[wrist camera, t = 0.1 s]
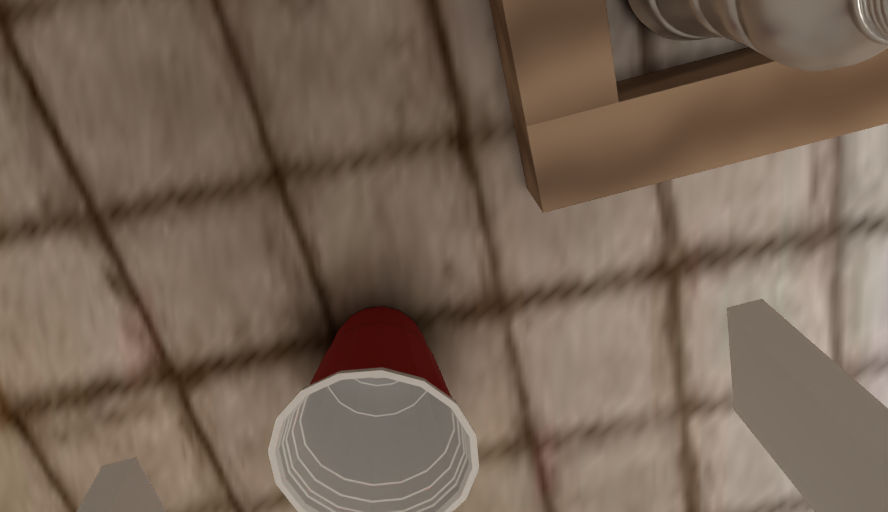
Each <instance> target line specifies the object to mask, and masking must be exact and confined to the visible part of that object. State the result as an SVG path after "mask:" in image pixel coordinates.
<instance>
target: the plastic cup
mask: <svg viewBox="0 0 888 512" xmlns="http://www.w3.org/2000/svg"><path fill="white" fill-rule="evenodd" d="M268 454H269V458H270V462H271V466H272V471H273V475H274V479H275V483H276V485H277V486H278V487H279V488H280V490H281V491H282V492H283V494H284V495H285V496H286V497H287V499H288V500H289V501H290V502H291V504H292V505H293V506H294V507H295V509H296V510H297V511H298V512H452V511H454V510H455V509H456V508H457V507H458V506H459V505H460V504H461V503H462V502H463V501H464V500H466V498H467V496H468V494H469V491H470V489H471V486H472V484H473V482H474V479H475V477H476V475H477V472H478V470H479V461H478V450H477V438H476V434H475V432H474V430H473V428H472V427H471V425H470V424H469V422H468V420H467V419H466V417H465V415H464V414H463V412H462V411H461V409H460V407H459V406H458V404H457V403H456V401H455V400H454V399H453V398H452V397H451V395H450V393H449V391H448V388H447V386H446V384H445V381H444V379H443V377H442V374H441V372H440V370H439V367H438V365H437V363H436V360H435V358H434V356H433V354H432V352H431V351H430V349H429V348H428V346H427V343H426V341H425V339H424V336H423V335H422V333H421V331H420V330H419V328H418V327H417V325H416V323H415V322H414V321H413V320H412V319H411V318H409V317H408V316H407V315H405V314H404V313H402V312H401V311H399V310H396V309H392V308H387V307H383V306H381V307H373V308H365V309H364V310H362V311H360V312H358V313H356V314H354V315H352V316H351V317H350V318H349V319H348V320H347V321H346V322H345V323H344V324H343V326H342V327H341V328H340V329H339V330H338V332H337V334H336V336H335V338H334V340H333V343H332V345H331V347H330V348H329V349H328V350H327V352H326V354H325V356H324V358H323V360H322V362H321V364H320V366H319V368H318V370H317V372H316V373H315V375H314V377H313V379H312V381H311V383H310V385H309V386H307V387H304V388H303V389H302V390H301V391H300V392H299V394H298V395H297V396H296V397H295V398H294V399H293V400H292V401H291V403H290V404H289V405H288V406H287V407H286V408H285V409H284V410H283V412H282V413H281V414H280V415H279V416H278V417H277V418H276V422H275V425H274V429H273V433H272V437H271V441H270V445H269V449H268Z"/></svg>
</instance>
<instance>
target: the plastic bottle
mask: <svg viewBox="0 0 888 512" xmlns="http://www.w3.org/2000/svg"><path fill="white" fill-rule="evenodd" d="M628 2H629V4H630V6H631V8H632V10H633V12H634V14H635V15H636V16H637V17H638V19H639V20H640V21H641V22H642V23H643V24H644V25H645V26H647V27H648V28H649V29H650V30H652V31H653V32H654V33H656V34H658V35H660V36H662V37H665V38H668V39H673V40H700V39H705V38H711V37H724V38H727V39H731V40H733V41H736V42H740V43H743V44H745V45H747V46H748V47H750V48H752V49H754V50H755V51H757V52H759V53H761V54H762V55H764V56H766V57H767V58H770V59H772V60H774V61H776V62H778V63H780V64H783V65H786V66H788V67H791V68H795V69H800V70H804V71H826V70H831V69H836V68H841V67H846V66H850V65H855V64H858V63H860V62H863V61H865V60H868V59H870V58H872V57H874V56H876V55H877V54H879V53H881V52H882V51H884V50H886V49H887V48H888V0H628Z"/></svg>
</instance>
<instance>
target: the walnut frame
mask: <svg viewBox="0 0 888 512" xmlns="http://www.w3.org/2000/svg"><path fill="white" fill-rule="evenodd" d="M489 1H490V6H491V11H492V16H493V21H494V26H495V31H496V36H497V41H498V46H499V51H500V56H501V61H502V66H503V71H504V76H505V81H506V86H507V91H508V96H509V101H510V106H511V111H512V116H513V121H514V126H515V131H516V136H517V141H518V146H519V151H520V156H521V161H522V166H523V171H524V176H525V180H526V185H527V189H528V190H529V192H530V193H531V195H532V196H533V198H534V200H535V201H536V203H537V204H538V206H539V207H540V209H541V210H542V212H543V213H544V212H548V211H552V210H556V209H560V208H563V207H567V206H571V205H575V204H579V203H583V202H586V201H590V200H594V199H598V198H602V197H606V196H610V195H613V194H617V193H621V192H625V191H629V190H633V189H637V188H640V187H644V186H648V185H652V184H656V183H660V182H663V181H667V180H671V179H675V178H679V177H683V176H687V175H690V174H694V173H698V172H702V171H706V170H710V169H713V168H717V167H721V166H725V165H729V164H733V163H737V162H740V161H744V160H748V159H752V158H756V157H760V156H763V155H767V154H771V153H775V152H779V151H783V150H787V149H790V148H794V147H798V146H802V145H806V144H810V143H814V142H817V141H821V140H825V139H829V138H833V137H837V136H840V135H844V134H848V133H852V132H856V131H860V130H864V129H867V128H871V127H875V126H879V125H883V124H887V123H888V48H887V49H886V50H884V51H882V52H881V53H879V54H877V55H876V56H874V57H872V58H870V59H868V60H865V61H863V62H860V63H858V64H855V65H850V66H846V67H841V68H836V69H831V70H826V71H804V70H800V69H795V68H791V67H788V66H786V65H783V64H780V63H778V62H776V61H774V60H772V59H770V58H767V57H766V56H764V55H762V54H761V53H759V52H757V51H755V50H754V49H752V48H750V47H748V48H744V49H741V50H737V51H733V52H729V53H725V54H722V55H718V56H714V57H710V58H706V59H703V60H699V61H695V62H691V63H687V64H684V65H680V66H676V67H672V68H668V69H665V70H661V71H657V72H653V73H649V74H646V75H642V76H638V77H634V78H630V79H627V80H623V81H619V82H616V78H615V70H614V63H613V55H612V47H611V40H610V32H609V25H608V17H607V10H606V2H605V0H489Z"/></svg>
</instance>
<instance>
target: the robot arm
mask: <svg viewBox="0 0 888 512" xmlns="http://www.w3.org/2000/svg"><path fill="white" fill-rule="evenodd" d="M727 317H728V331H729V345H730V359H731V374H732V388H733V402H734V410H735V412H736V413H737V414H738V415H739V417H740V418H741V419H742V420H743V422H744V423H745V424H746V425H747V427H748V428H749V429H750V430H751V432H752V433H753V434H754V435H755V437H756V438H757V439H758V440H759V442H760V443H761V444H762V445H763V447H764V448H765V449H766V450H767V452H768V453H769V454H770V455H771V457H772V458H773V459H774V460H775V462H776V463H777V464H778V465H779V467H780V468H781V469H782V470H783V472H784V473H785V474H786V476H787V477H788V478H789V479H790V481H791V482H792V483H793V484H794V486H795V487H796V488H797V489H798V491H799V492H800V493H801V494H802V496H803V497H804V498H805V499H806V501H807V502H808V503H809V504H810V506H811V507H812V508H813V509H814V511H815V512H888V408H887V407H885V406H884V405H883V404H882V403H881V402H880V401H878V400H877V399H876V398H875V397H874V396H873V395H872V394H870V393H869V392H868V391H867V390H866V389H865V388H864V387H862V386H861V385H860V384H859V383H858V382H857V381H856V380H854V379H853V378H852V377H851V376H850V375H849V374H847V373H846V372H845V371H844V370H843V369H842V368H841V367H839V366H838V365H837V364H836V363H835V362H834V361H833V360H831V359H830V358H829V357H828V356H827V355H826V354H825V353H823V352H822V351H821V350H820V349H819V348H818V347H816V346H815V345H814V344H813V343H812V342H811V341H810V340H808V339H807V338H806V337H805V336H804V335H803V334H802V333H800V332H799V331H798V330H797V329H796V328H795V327H794V326H792V325H791V324H790V323H789V322H788V321H787V320H786V319H784V318H783V317H782V316H781V315H780V314H779V313H777V312H776V311H775V310H774V309H773V308H772V307H771V306H769V305H768V304H767V303H766V302H765V301H764V300H763V299H760V300H756V301H752V302H748V303H744V304H740V305H736V306H732V307H728V308H727ZM77 512H167V511H166V510H165V508H164V506H163V504H162V502H161V501H160V499H159V497H158V495H157V493H156V492H155V490H154V488H153V486H152V484H151V483H150V481H149V479H148V477H147V475H146V474H145V472H144V470H143V468H142V466H141V465H140V463H139V461H138V459H137V457H135V458H132V459H128V460H124V461H120V462H116V463H112V464H108V465H104V466H102V468H101V469H100V471H99V473H98V475H97V477H96V478H95V480H94V482H93V484H92V485H91V487H90V489H89V491H88V493H87V494H86V496H85V498H84V500H83V501H82V503H81V505H80V507H79V509H78V510H77Z"/></svg>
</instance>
